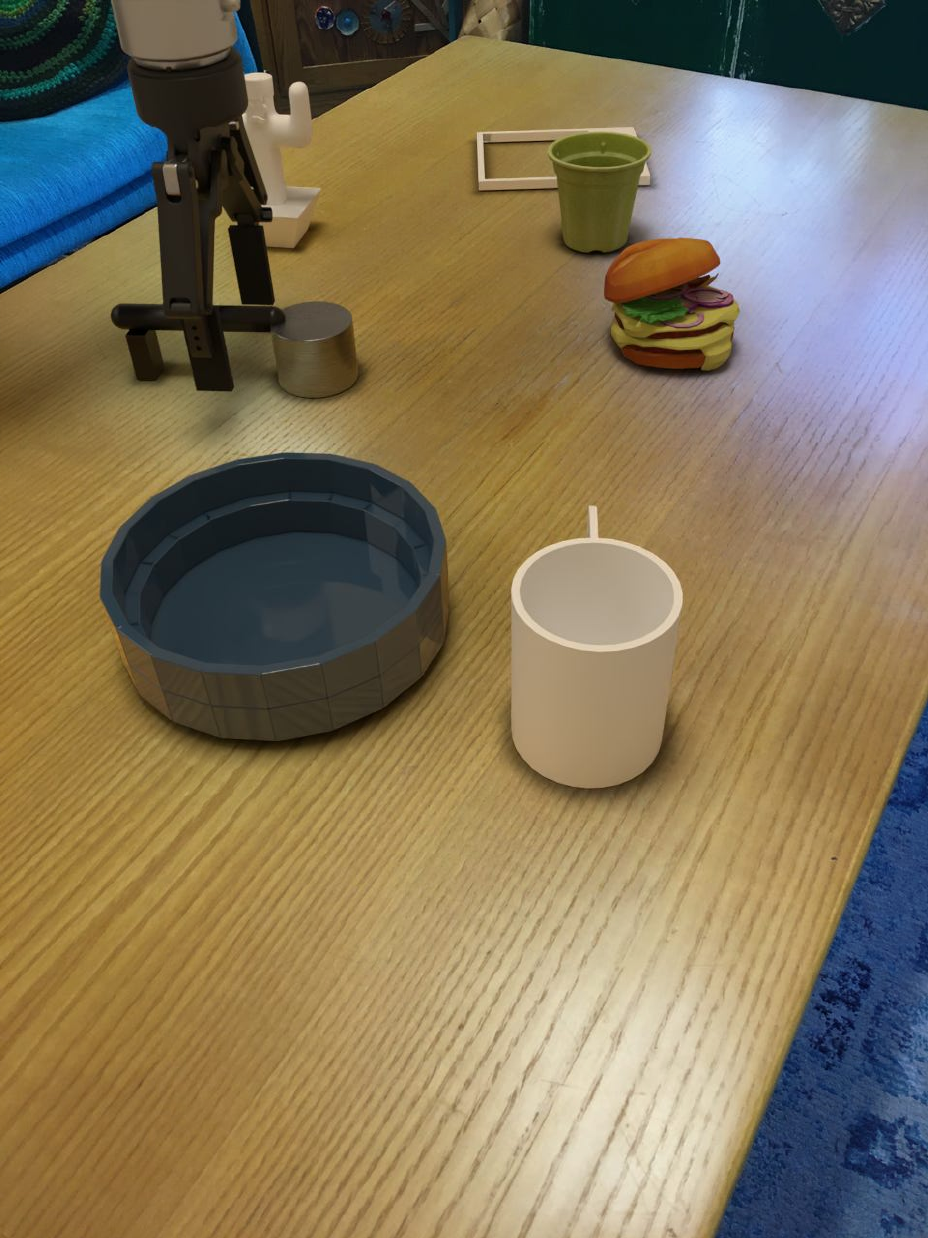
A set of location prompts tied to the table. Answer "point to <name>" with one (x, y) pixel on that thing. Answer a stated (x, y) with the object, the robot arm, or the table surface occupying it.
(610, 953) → the table surface
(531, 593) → the cup
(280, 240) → the figurine
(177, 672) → the bowl
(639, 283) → the cheeseburger
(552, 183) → the photo frame
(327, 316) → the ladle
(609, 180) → the plant pot
